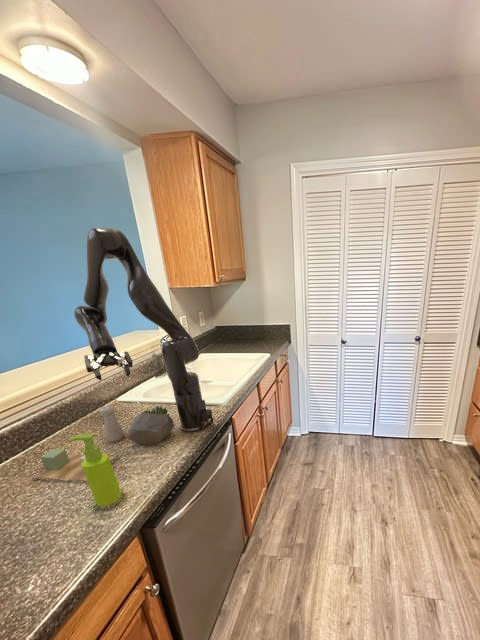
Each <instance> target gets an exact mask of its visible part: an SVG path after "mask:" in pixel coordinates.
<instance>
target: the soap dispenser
mask: <svg viewBox="0 0 480 640" xmlns="http://www.w3.org/2000/svg"><path fill="white" fill-rule="evenodd" d="M95 436H96V435H95V433H81V434H76V435H72V436H71V437H70V438H68V439H67V442H75V441H83V443H84V447H83V448H82V452H83V455H85V458H86V459H84V460H83V461H82V463H81V465H82V468H83V470H84V473H85V476H86V478H87V480H86V481H87V484H88V486H89V488H90V492H91V494H92V496H93V499H94V501H95V504H96V506H98V507H103V508H104V507H109V506H111V505H113V504H115V503H117V502H118V501H119V500H120V499H121V498H122V493H121V489H120V486H119V483H118V480H117V477H116V474H115V471H114V469H113V465H112V461H110V459H109V456H110V455H109V454H108V453H105V452H104V453H101V451H102V450H101V448H100V446H99V444H97V443H94V441H93V439H94V438H95Z"/></svg>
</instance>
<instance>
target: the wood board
mask: <svg viewBox="0 0 480 640" xmlns="http://www.w3.org/2000/svg"><path fill="white" fill-rule="evenodd" d="M67 455H68V458H69V460H70V462H69V463H67V464H66V465H65V466H63V467H62V468H61V469H59V470H48V469H45V468H44V470H42V471H40V472H39V473H38V474H37V475H35V476H34V478H42V479H43V478H44V479H59V480H60V479H62V480H81V481H87V478H86V476H85V473H84V471H83V468H82V465H81V463H80V460H79V458H81V457H82V456H83V455H84V454H67ZM108 456H109V459H110V462H112V461H113V459H115V458H116V456H114V455H113V456H111V455H108Z"/></svg>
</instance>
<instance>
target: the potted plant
mask: <svg viewBox="0 0 480 640" xmlns="http://www.w3.org/2000/svg"><path fill="white" fill-rule="evenodd" d="M168 410H169V409H168V408H167V406H165V407H163V406H159V405H157V406H155V408H154V407H153V408H151V410H150V409H146V410H143V411H142V412H141V413H138V415H136V417H135V418H134V419H133V421H132V423H131V424H130V427H129V429H128V437H129V440H131V441H132V442H134V443H136V444H138V445H141V446H148V445H157V444H159V443H160V442H162V441H163V440H165V439H166V438H167V437H169V435H170V434H171V432H172V431H173V429H174V427H175V424H174V420H173V418H172V417H171V416H170V413H168Z"/></svg>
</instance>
